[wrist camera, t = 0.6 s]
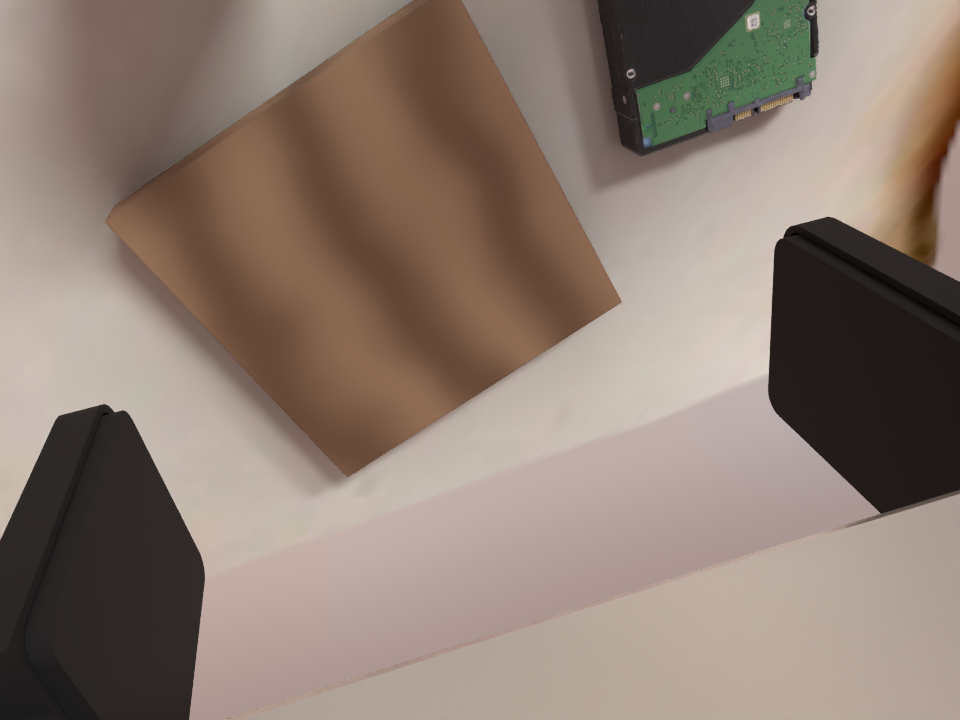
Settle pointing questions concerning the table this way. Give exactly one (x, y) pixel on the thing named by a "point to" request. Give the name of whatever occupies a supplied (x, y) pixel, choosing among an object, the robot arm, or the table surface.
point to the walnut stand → (375, 237)
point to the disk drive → (704, 64)
